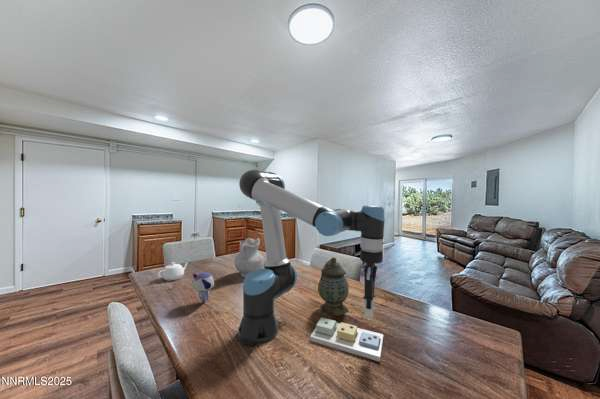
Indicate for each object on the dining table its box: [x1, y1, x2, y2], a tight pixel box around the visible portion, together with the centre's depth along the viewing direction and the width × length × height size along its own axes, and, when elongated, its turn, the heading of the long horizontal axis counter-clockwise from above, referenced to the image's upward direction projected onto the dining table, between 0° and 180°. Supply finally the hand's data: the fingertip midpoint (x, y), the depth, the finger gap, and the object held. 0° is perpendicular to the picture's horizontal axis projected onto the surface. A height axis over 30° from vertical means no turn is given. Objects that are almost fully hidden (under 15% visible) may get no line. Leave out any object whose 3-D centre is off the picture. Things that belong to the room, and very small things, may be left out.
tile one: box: [315, 316, 337, 336], centre depth 85 cm, size 6×6×3 cm
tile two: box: [337, 322, 358, 342], centre depth 82 cm, size 6×6×3 cm
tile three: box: [360, 332, 380, 350], centre depth 79 cm, size 6×6×3 cm
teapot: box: [157, 261, 189, 282], centre depth 144 cm, size 20×12×10 cm, turn 150°
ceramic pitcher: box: [233, 237, 265, 278], centre depth 151 cm, size 22×20×25 cm
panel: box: [309, 322, 384, 363], centre depth 82 cm, size 24×13×2 cm, turn 65°
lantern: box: [317, 257, 350, 316], centre depth 105 cm, size 14×14×25 cm
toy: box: [192, 271, 215, 304], centre depth 111 cm, size 11×10×15 cm
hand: (368, 316), depth 79 cm, fingers closed
